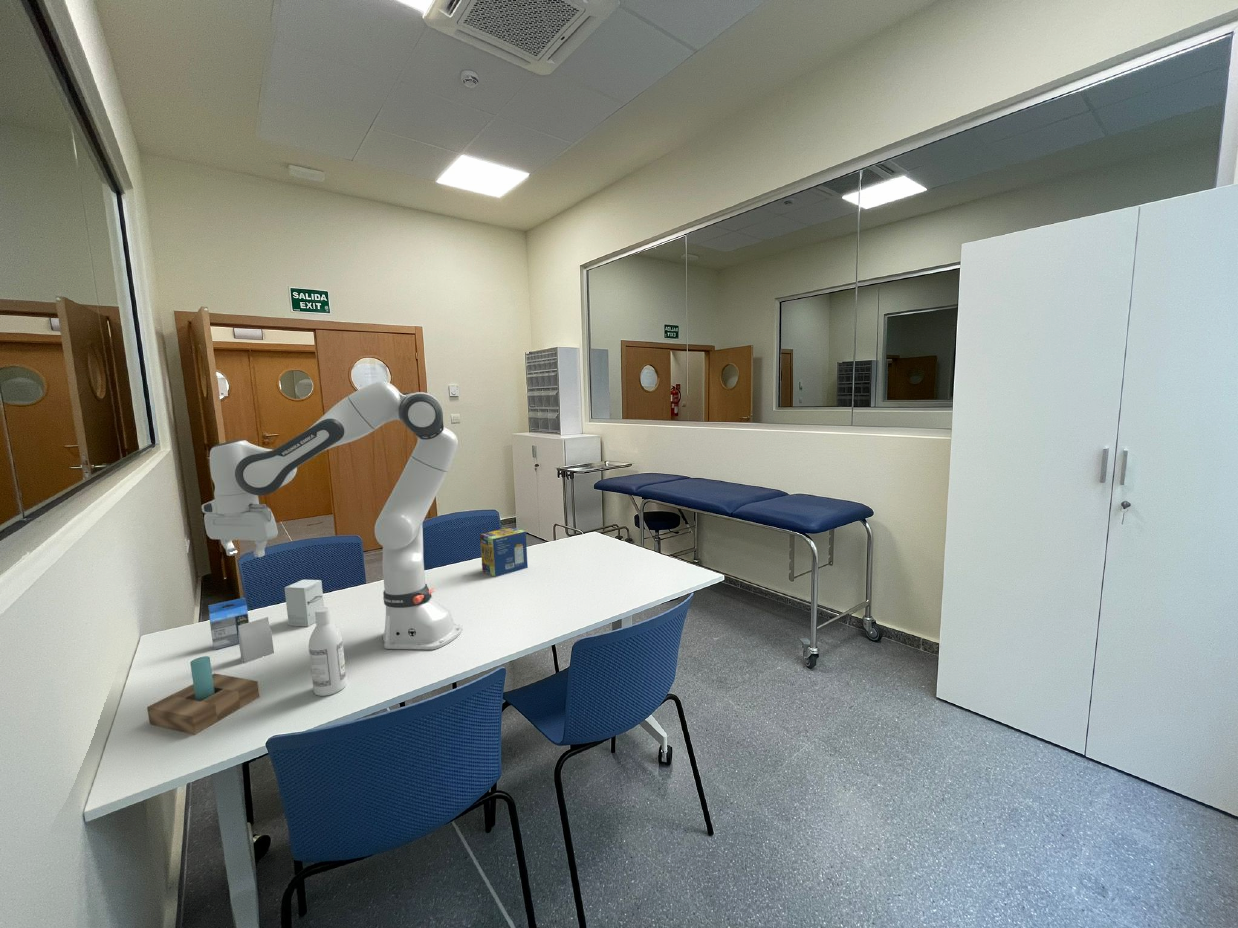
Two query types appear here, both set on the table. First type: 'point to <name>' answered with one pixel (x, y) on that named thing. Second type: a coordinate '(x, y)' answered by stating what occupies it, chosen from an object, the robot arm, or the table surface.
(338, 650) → the bath foam
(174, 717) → the socket block
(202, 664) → the peg
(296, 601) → the supplement box
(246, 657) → the white carton
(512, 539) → the protein box
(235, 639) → the label tape box
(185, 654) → the table surface
